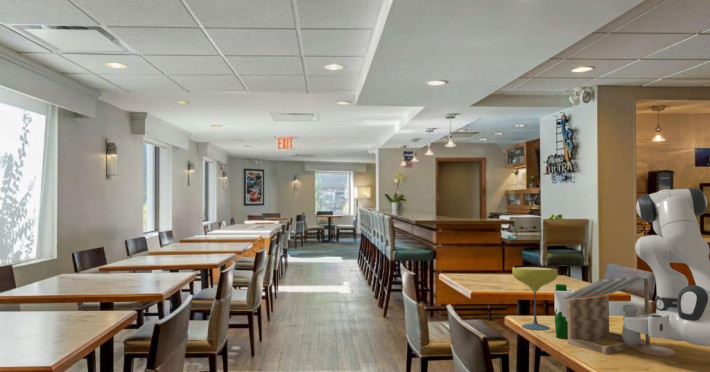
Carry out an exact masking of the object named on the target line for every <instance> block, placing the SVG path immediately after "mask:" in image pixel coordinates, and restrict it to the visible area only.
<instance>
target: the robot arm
mask: <svg viewBox="0 0 710 372" xmlns="http://www.w3.org/2000/svg"><path fill="white" fill-rule="evenodd" d="M707 206H708V200H707V197H706V195H705V194H704V192H703V190H701V189H700V188H697V187H696V188H695V187H687V188H676V189H675V188H674V189H667V188H666V189H661V190H659V191H657V192H652V193H650V194H649V193H646V194H642V195H640V196H639V197H638V198H637V201H636V205H635V208H636V213H637V214H638V216H639V218H640V219H641V220H642V221H643V222H648V223H652V228H653V231H654V232H655V234H652V235H643V236H640V237H639V238H638V239H637V241H636V242H635V245H634V247H635V253H636V255H637V256H638V258H639V259H640V260H642V261H643V262H645V263H646V264H647V266H649V268H650V269H651V271H652V272H653V275H654V277H655V278H654V280H655V285H656V295H655V305H656V309H655V310H656V311H655V312H653V313H649V314H645V313H644V314H636V316H625V315H623V319H622V320H623V325H624V327H625V328H626V329H628V330H632V331H635V332H639V333H640V334H644V335H645V334H648V335H649V337H650V338H656V339H665V340H672V341H675V342H681V341H682V342H686V343H688V344H689V345H690V344H691V345H696V346H700V347H708V348H710V257H709V256H710V246H709V244H708V242H707V241H706V239H704V238H703V237H702V233H701V230H700V226H699V221H698V220H697V217H700V216H703V215H704V214H705V213H706V211H707ZM671 263H674V264H675V263H677V264H680V263H681V264H685V265H687V267H688V268H689V270H690V271H691V274H692V277H693V280H694V282H695V284H691V285H689V280H688V278H687V276H686V275H685V274H683V273H681V272H680V271H677V270H675V269H674V268H672V266H670V264H671Z"/></svg>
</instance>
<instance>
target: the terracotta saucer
mask: <svg viewBox="0 0 710 372" xmlns="http://www.w3.org/2000/svg"><path fill="white" fill-rule="evenodd" d="M637 351H638V352H640V353H641V354H646V355H650V356H656V357H673V356H675V351H674V350H673V349H671V348H668V347H664V346H659V345H651V344H650V345H646V344H645V345H644V346H638V347H637Z"/></svg>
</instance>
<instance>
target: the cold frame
mask: <svg viewBox="0 0 710 372" xmlns="http://www.w3.org/2000/svg"><path fill="white" fill-rule="evenodd" d="M649 278H650V275H649V274H648V275H637V276H625V277H616V278H604V279H598V280H595V281H594V282H592V283H589V284H587V285H585V286H583V287H581V288H578V289H576V291H574V292H572V293H570V294H568V295H566V296H564V297H563V299H568V298H577V297H580V298H579V299H570V300H567V315H568V339H567V344H568V345H571V346H575V347H579V348H582V349H586V350H590V351H594V352H597V353H600V354H601V353H602V354H605V355H607V354H611V353H616V352H620V351H627V350H632V349H636V348H637V349H638V346H644V345H650V346H651V337H649V335H648V334H644V335H645V339H643V338H640V341H639V343H638V344H636V345H635V344H627V343H625V341H624V339H623V338H622V333H617V332H611V331H610V303H609V302H610V299H609V298H610V297H609V296H610V294H614V293H617V292H618V291H621V290H624V289H626V288H629V287H630V286H633V285H635V284H637V283H641V282H642V281H643V289H644V290H643V291H644V293H643V294H644V296H643V297H644V315H645V314H650V300H649V299H650V293H649V289H650V288H649ZM603 339H611V340H614V341H618V342H619V343H614V344H609V345H601V344H597V343H593V342H594V341H597V340H603ZM591 341H593V342H591Z"/></svg>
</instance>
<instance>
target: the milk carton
mask: <svg viewBox="0 0 710 372" xmlns="http://www.w3.org/2000/svg"><path fill="white" fill-rule="evenodd" d="M576 290H577V289H576ZM576 290H575V289H571V288H570V289H569V288H567V284H561V283H558V284H557V283H555V290H554V327H555V328H554V329H555V338H556V339H563V340H568V315H567V300H570V299H579V298H581V297H577V298H568V299H563V297H564V296H566V295H568V294H570V293H572V292H574V291H576Z"/></svg>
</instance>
